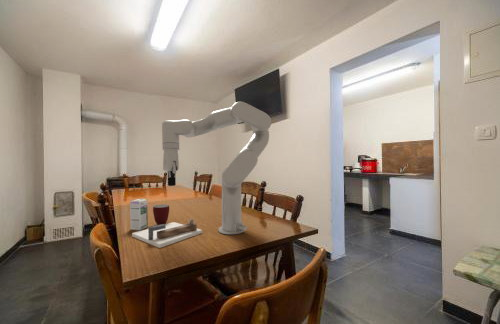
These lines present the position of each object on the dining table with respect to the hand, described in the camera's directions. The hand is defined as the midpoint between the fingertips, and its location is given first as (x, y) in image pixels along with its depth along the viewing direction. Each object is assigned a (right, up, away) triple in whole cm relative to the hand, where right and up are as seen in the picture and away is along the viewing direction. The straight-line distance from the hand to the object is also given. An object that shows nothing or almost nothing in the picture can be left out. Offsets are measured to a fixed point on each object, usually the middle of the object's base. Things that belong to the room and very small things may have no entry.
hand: (171, 185), depth 105 cm
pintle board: (-1, -23, -2) cm, 23 cm away
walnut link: (+5, -21, -5) cm, 22 cm away
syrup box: (-19, -23, +7) cm, 30 cm away
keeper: (-3, -21, -11) cm, 24 cm away
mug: (-11, -23, +15) cm, 29 cm away
